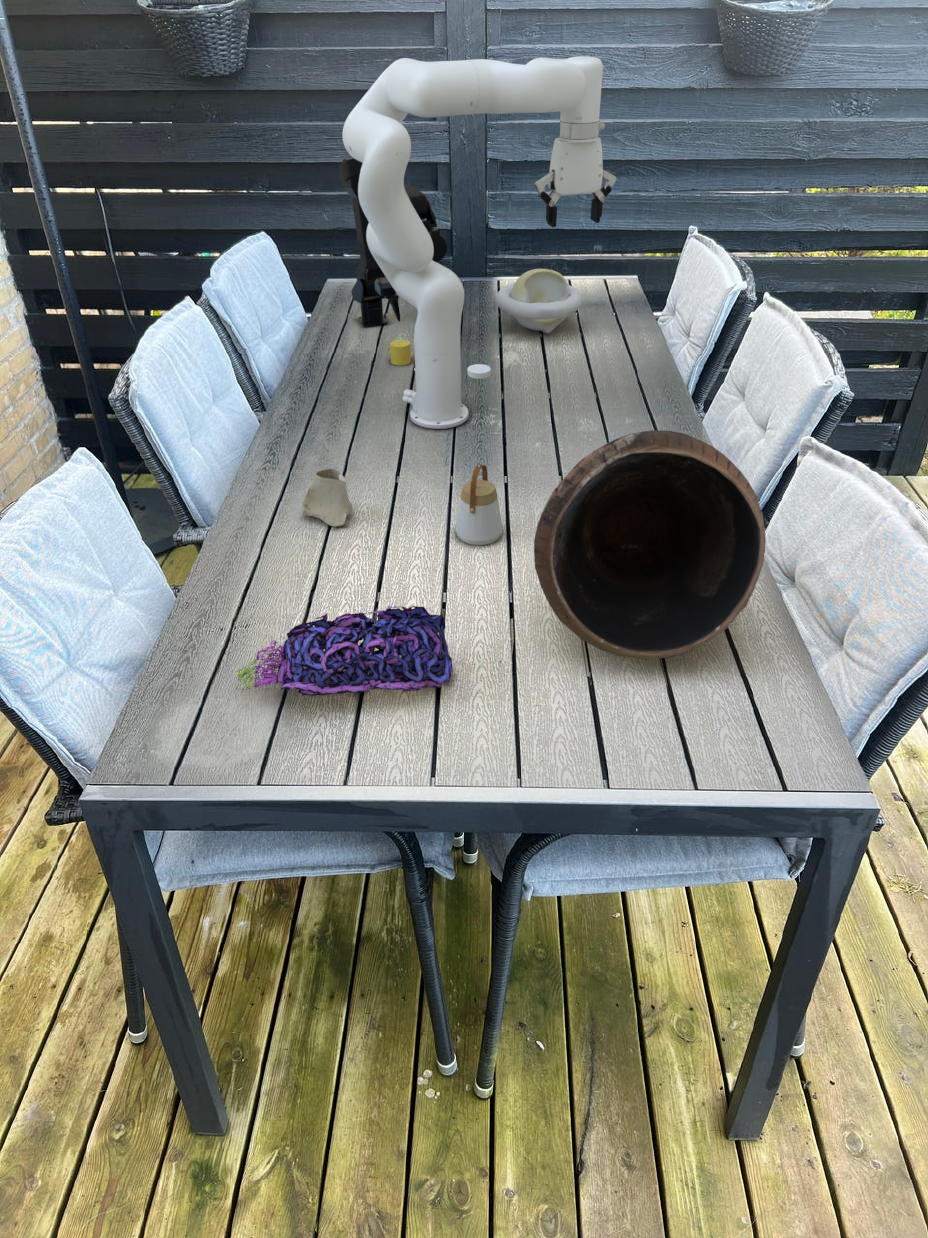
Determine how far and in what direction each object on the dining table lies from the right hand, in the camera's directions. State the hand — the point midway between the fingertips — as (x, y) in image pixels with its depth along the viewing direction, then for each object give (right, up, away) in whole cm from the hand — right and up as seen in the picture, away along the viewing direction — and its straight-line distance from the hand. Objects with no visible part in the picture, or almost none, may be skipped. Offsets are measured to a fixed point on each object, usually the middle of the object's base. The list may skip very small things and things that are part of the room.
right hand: (573, 223), depth 191 cm
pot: (+4, -80, -46) cm, 92 cm away
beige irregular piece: (-47, -63, -24) cm, 83 cm away
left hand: (-34, -8, +35) cm, 50 cm away
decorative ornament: (-39, -91, -60) cm, 116 cm away
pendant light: (-20, -67, -29) cm, 75 cm away
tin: (-38, -19, +33) cm, 54 cm away
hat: (-3, -6, +50) cm, 50 cm away
